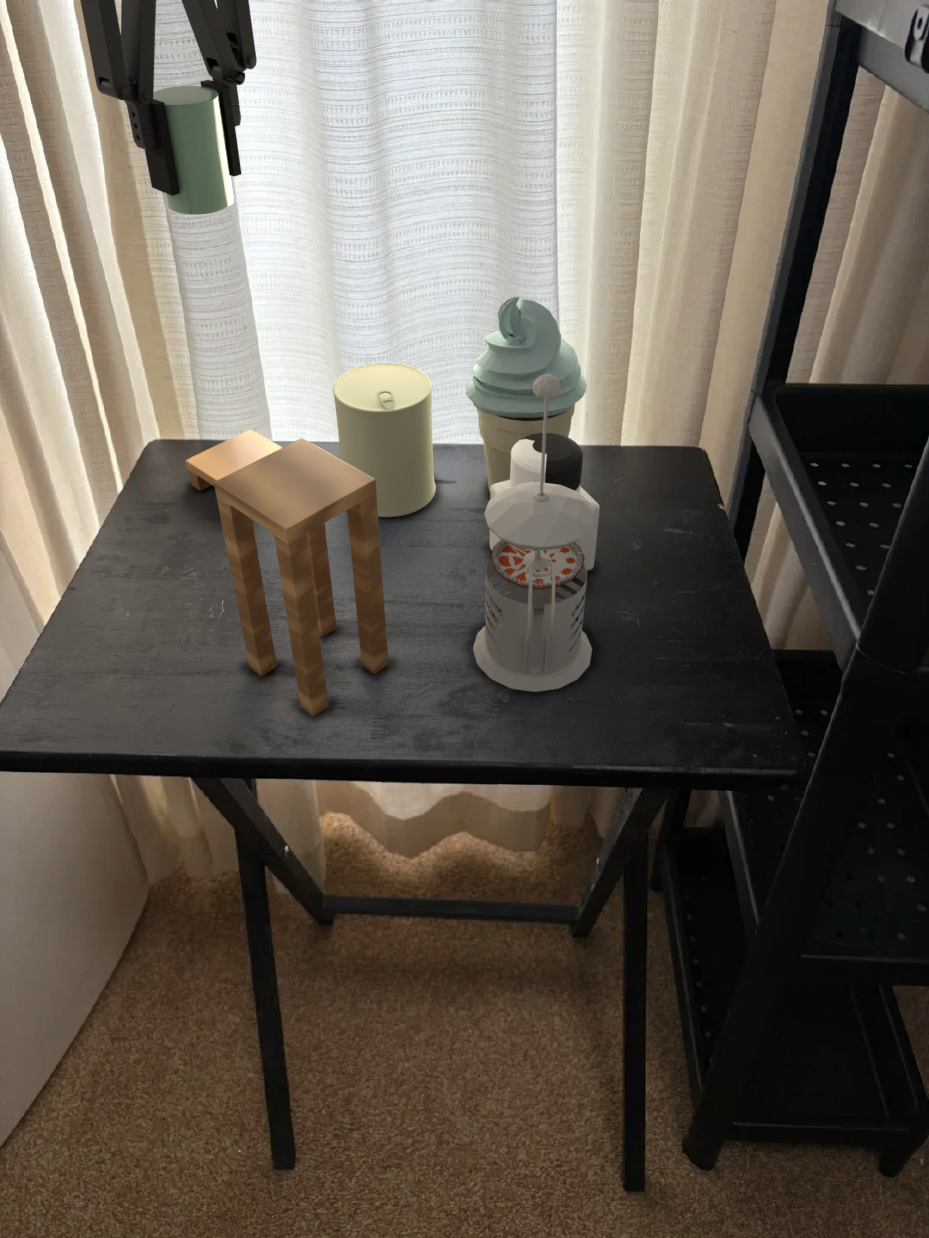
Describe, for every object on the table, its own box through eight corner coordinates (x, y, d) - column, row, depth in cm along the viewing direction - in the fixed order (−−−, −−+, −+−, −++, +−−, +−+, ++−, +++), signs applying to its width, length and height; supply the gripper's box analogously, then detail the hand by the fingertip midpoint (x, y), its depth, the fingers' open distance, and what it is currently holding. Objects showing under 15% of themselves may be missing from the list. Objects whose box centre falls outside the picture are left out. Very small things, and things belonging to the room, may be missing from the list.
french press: (587, 610, 90) (614, 341, 73) (599, 708, 81) (632, 429, 65) (473, 609, 90) (474, 341, 73) (472, 707, 81) (473, 428, 65)
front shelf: (313, 717, 81) (286, 529, 69) (249, 667, 85) (213, 481, 73) (389, 664, 85) (376, 479, 73) (324, 619, 89) (302, 437, 77)
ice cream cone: (583, 516, 100) (601, 320, 87) (467, 519, 100) (467, 323, 86) (571, 459, 108) (586, 270, 94) (463, 461, 107) (462, 272, 94)
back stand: (239, 518, 100) (235, 492, 98) (190, 485, 104) (184, 460, 102) (304, 483, 104) (301, 458, 102) (254, 453, 108) (250, 428, 106)
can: (349, 523, 99) (338, 412, 91) (336, 471, 106) (325, 363, 98) (444, 510, 101) (442, 400, 93) (425, 459, 107) (422, 352, 100)
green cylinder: (193, 220, 81) (174, 109, 76) (154, 203, 84) (134, 95, 78) (247, 202, 84) (232, 94, 79) (207, 187, 87) (191, 81, 81)
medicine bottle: (555, 527, 99) (562, 416, 91) (595, 570, 94) (606, 456, 86) (488, 548, 96) (489, 435, 88) (525, 592, 92) (530, 478, 84)
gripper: (38, -178, 60) (124, 224, 76) (284, -195, 70) (316, 163, 86) (-25, -185, 64) (69, 199, 80) (216, -200, 74) (258, 144, 90)
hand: (197, 180), depth 83 cm, fingers closed on green cylinder, 5 cm apart
